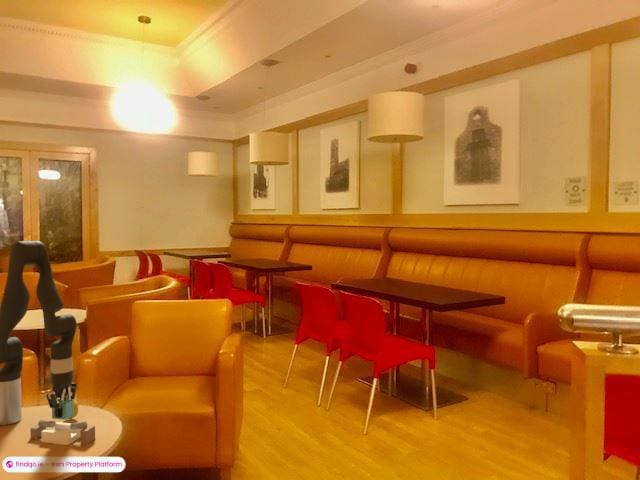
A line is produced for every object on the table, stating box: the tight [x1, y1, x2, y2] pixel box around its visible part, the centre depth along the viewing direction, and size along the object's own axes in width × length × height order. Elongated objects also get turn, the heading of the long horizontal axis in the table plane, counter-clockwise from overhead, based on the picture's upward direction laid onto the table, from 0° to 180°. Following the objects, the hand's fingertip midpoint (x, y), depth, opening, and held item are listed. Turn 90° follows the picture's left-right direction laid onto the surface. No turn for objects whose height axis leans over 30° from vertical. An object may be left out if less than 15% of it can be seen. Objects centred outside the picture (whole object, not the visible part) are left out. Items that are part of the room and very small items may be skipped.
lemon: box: [68, 400, 79, 420], centre depth 211 cm, size 6×6×8 cm
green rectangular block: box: [51, 399, 75, 421], centre depth 193 cm, size 6×4×6 cm, turn 78°
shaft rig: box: [29, 419, 96, 446], centre depth 194 cm, size 23×9×7 cm, turn 78°
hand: (62, 415), depth 193 cm, fingers closed on green rectangular block, 4 cm apart
